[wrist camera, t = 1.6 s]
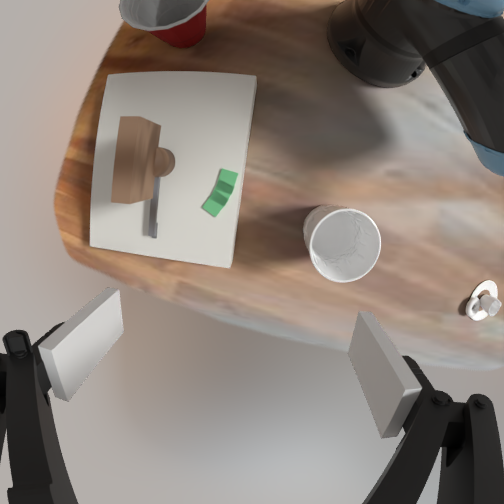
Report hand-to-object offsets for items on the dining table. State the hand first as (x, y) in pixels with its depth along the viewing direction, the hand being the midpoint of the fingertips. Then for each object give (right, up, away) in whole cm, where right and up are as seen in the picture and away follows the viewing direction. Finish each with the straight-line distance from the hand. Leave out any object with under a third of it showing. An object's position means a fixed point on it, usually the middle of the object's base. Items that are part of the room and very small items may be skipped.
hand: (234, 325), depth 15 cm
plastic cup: (-8, +35, +18) cm, 40 cm away
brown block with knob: (-10, +12, +19) cm, 25 cm away
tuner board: (-10, +16, +23) cm, 29 cm away
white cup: (+11, +7, +24) cm, 28 cm away
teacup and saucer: (+41, -3, +26) cm, 49 cm away
